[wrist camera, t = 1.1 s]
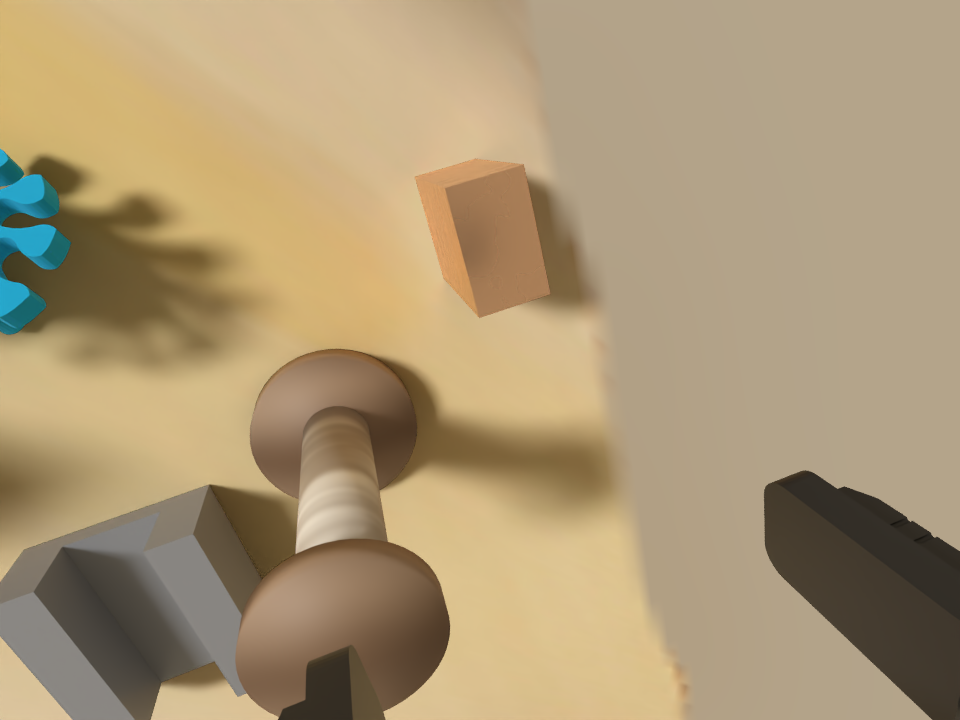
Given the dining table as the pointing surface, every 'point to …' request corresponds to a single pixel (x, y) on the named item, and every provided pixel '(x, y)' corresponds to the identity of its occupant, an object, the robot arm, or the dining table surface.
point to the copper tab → (485, 233)
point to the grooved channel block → (129, 606)
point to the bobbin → (338, 535)
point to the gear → (26, 241)
